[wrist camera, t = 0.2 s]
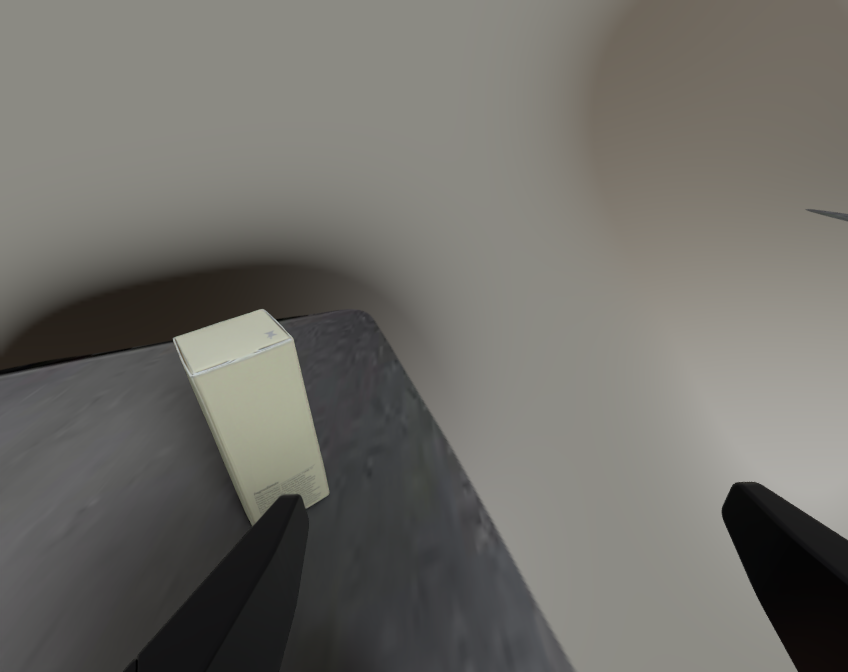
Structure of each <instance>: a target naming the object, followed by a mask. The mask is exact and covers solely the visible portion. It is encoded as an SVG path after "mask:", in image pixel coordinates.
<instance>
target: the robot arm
mask: <svg viewBox="0 0 848 672" xmlns="http://www.w3.org/2000/svg"><path fill="white" fill-rule="evenodd" d="M722 517H723V520H724V523H725V525H726V528H727V530H728V532H729V534H730V537H731V539H732V541H733V544H734V546H735V548H736V550H737V553H738V555H739V557H740V559H741V562H742V564H743V566H744V569H745V571H746V573H747V576H748V578H749V580H750V583H751V585H752V587H753V589H754V591H755V593H756V595H757V597H758V599H759V601H760V603H761V605H762V607H763V609H764V611H765V612H766V614H767V616H768V618H769V620H770V622H771V623H772V625H773V627H774V629H775V631H776V632H777V634H778V636H779V638H780V640H781V642H782V643H783V645H784V647H785V649H786V651H787V653H788V654H789V656H790V658H791V659H792V662H793V663H794V665H795V667H796V669H797V671H798V672H848V540H847V539H845V538H843V537H842V536H840V535H839V534H837V533H836V532H834V531H832V530H831V529H830V528H828V527H826V526H825V525H823V524H822V523H820V522H819V521H817V520H816V519H814V518H813V517H811V516H809V515H808V514H806V513H805V512H803V511H802V510H800V509H799V508H797V507H795V506H794V505H792V504H791V503H789V502H788V501H786V500H784V499H783V498H782V497H780V496H778V495H777V494H775V493H774V492H772V491H771V490H769V489H767V488H766V487H764V486H763V485H761V484H759V483H756V482H737V483H735V484H733V485H732V487H731V489H730V491H729V493H728V495H727V498H726V500H725V502H724V504H723V507H722ZM308 529H309V520H308V515H307V512H306V508H305V505H304V502H303V498H302V496H301V495H300V494H283V495H281V496H279V497H278V498H277V499H276V501H275V502H274V503H273V504H272V505H271V506H270V507H269V508H268V510H267V511H266V512H265V513H264V514H263V515H262V516H261V517H260V519H259V520H258V521H257V522H256V523H255V524H254V525H253V526H252V527H251V529H250V530H249V531H248V532H247V533H246V534H245V535H244V536H243V538H242V539H241V540H240V541H239V542H238V543H237V544H236V545H235V547H234V548H233V549H232V550H231V551H230V552H229V553H228V554H227V555H226V557H225V558H224V559H223V560H222V561H221V562H220V563H219V564H218V566H217V567H216V568H215V569H214V570H213V571H212V572H211V573H210V575H209V576H208V577H207V578H206V579H205V580H204V581H203V582H202V584H201V585H200V586H199V587H198V588H197V589H196V590H195V591H194V592H193V594H192V595H191V596H190V597H189V598H188V599H187V600H186V601H185V603H184V604H183V605H182V606H181V607H180V608H179V609H178V610H177V612H176V613H175V614H174V615H173V616H172V617H171V618H170V619H169V620H168V622H167V623H166V624H165V625H164V626H163V627H162V628H161V629H160V631H159V632H158V633H157V634H156V635H155V636H154V637H153V638H152V640H151V641H150V642H149V643H148V644H147V645H146V646H145V647H144V648H143V650H142V651H141V652H140V653H139V654H138V657H137V659H134V660H133V661H132V662H131V663H130V664H129V665H128V666H127V667H126V668H125V670H124V671H123V672H279V670H280V666H281V662H282V658H283V654H284V651H285V647H286V643H287V639H288V636H289V632H290V628H291V624H292V620H293V617H294V612H295V608H296V604H297V598H298V593H299V586H300V580H301V574H302V567H303V561H304V555H305V548H306V542H307V536H308Z"/></svg>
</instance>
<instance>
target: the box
mask: <svg viewBox="0 0 848 672" xmlns="http://www.w3.org/2000/svg"><path fill="white" fill-rule="evenodd" d="M173 342H174V344H175V347H176V349H177V352H178V354H179V357H180V359H181V362H182V364H183V367H184V369H185V372H186V374H187V377H188V379H189V381H190V384H191V386H192V388H193V391H194V393H195V395H196V398H197V400H198V402H199V405H200V407H201V409H202V412H203V414H204V416H205V418H206V421H207V423H208V425H209V428H210V430H211V432H212V435H213V437H214V440H215V442H216V444H217V447H218V449H219V451H220V454H221V456H222V459H223V461H224V464H225V466H226V468H227V471H228V473H229V475H230V478H231V480H232V482H233V485H234V487H235V489H236V492H237V494H238V496H239V499H240V501H241V503H242V506H243V508H244V510H245V512H246V515H247V517H248V519H249V521H250V523H251V525H252V526H253V525H254V524H255V523H256V522H257V521H258V520H259V519H260V517H261V516H262V515H263V514H264V513H265V512H266V511H267V510H268V508H269V507H270V506H271V505H272V504H273V503H274V502H275V501H276V499H277V498H278V497H279V496H281V495H283V494H300V495H301V496H302V498H303V502H304V505H305V508H308V507H310V506H311V505H313V504H315V503H316V502H318V501H320V500H321V499H323V498H324V497H326V496H328V495H329V488H328V483H327V479H326V474H325V469H324V465H323V461H322V457H321V453H320V449H319V445H318V440H317V436H316V432H315V428H314V424H313V420H312V415H311V411H310V407H309V403H308V399H307V395H306V391H305V386H304V382H303V378H302V374H301V370H300V365H299V361H298V357H297V353H296V348H295V344H294V340H293V338H292V337H291V336H290V335H289V334H288V332H287V331H286V330H285V329H284V328H283V327H282V326H281V325H280V324H279V323H278V322H277V321H276V320H275V319H274V318H273V317H272V316H271V315H270V314H269V313H268V312H266V311H265V310H264V309H260V310H257V311H254V312H251V313H248V314H245V315H242V316H239V317H236V318H233V319H229V320H226V321H223V322H220V323H217V324H214V325H210V326H208V327H205V328H202V329H199V330H196V331H193V332H190V333H187V334H184V335H181V336H177V337H175V338H174V339H173Z"/></svg>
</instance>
